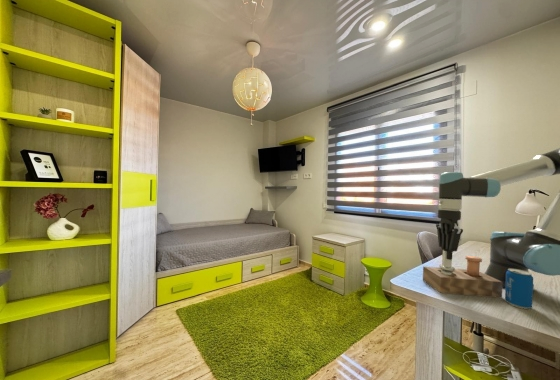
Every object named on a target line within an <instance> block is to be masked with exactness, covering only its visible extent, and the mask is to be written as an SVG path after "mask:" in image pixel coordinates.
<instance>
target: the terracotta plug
mask: <svg viewBox="0 0 560 380" xmlns="http://www.w3.org/2000/svg"><path fill="white" fill-rule="evenodd" d="M465 259H466V270H467V275H469V276H473V277H479V272H480V267H481V266H480V263H482V261H483V258H482V257H478V256H473V255H465Z"/></svg>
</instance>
